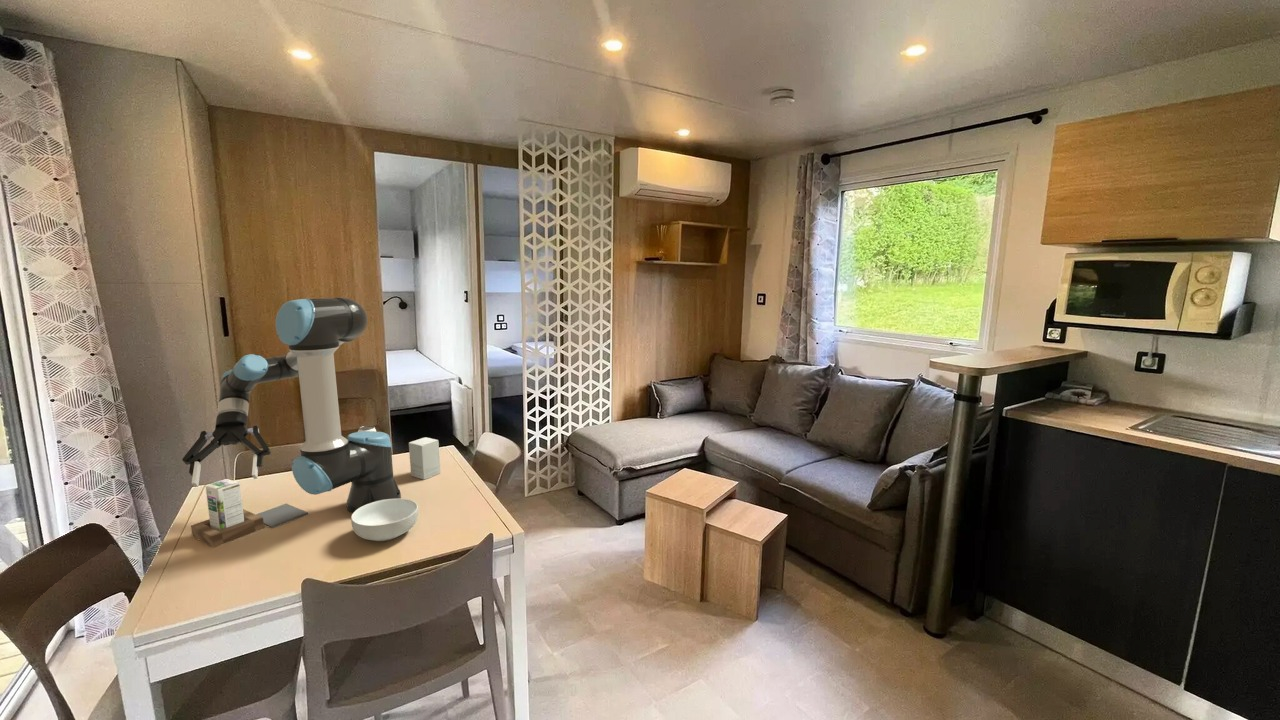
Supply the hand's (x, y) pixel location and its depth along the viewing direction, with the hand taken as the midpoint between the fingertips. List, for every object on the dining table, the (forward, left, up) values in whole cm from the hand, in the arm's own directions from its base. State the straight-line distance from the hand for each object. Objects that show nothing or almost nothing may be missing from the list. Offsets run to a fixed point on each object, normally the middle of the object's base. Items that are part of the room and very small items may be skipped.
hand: (225, 480), depth 146 cm
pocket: (-5, +3, -13) cm, 14 cm away
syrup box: (-5, +3, -13) cm, 14 cm away
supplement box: (-18, -52, -13) cm, 57 cm away
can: (+16, -53, -13) cm, 57 cm away
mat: (-7, -9, -13) cm, 17 cm away
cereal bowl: (-44, -18, -13) cm, 50 cm away
